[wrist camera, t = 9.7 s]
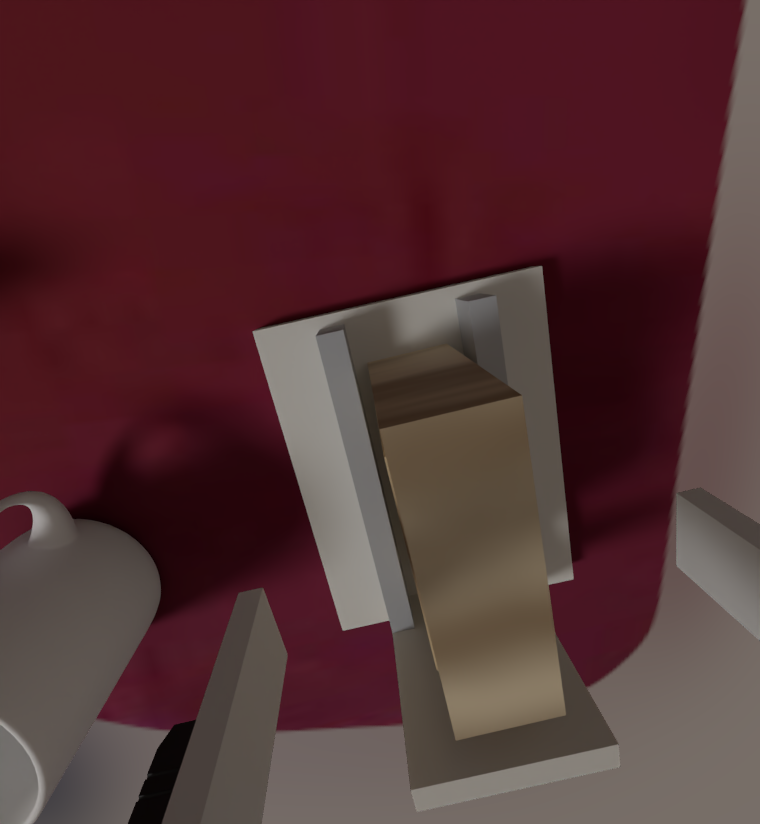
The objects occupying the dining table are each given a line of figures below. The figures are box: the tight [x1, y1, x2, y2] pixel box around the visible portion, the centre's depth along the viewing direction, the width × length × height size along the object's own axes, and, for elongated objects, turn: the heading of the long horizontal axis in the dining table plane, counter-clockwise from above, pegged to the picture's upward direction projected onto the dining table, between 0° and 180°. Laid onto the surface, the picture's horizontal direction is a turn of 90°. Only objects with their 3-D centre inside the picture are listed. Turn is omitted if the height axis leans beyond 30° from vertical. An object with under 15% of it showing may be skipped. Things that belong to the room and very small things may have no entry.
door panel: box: [367, 344, 566, 741], centre depth 19 cm, size 12×4×10 cm, turn 13°
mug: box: [0, 491, 161, 824], centre depth 20 cm, size 9×12×11 cm
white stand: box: [253, 266, 620, 812], centre depth 19 cm, size 18×14×11 cm
